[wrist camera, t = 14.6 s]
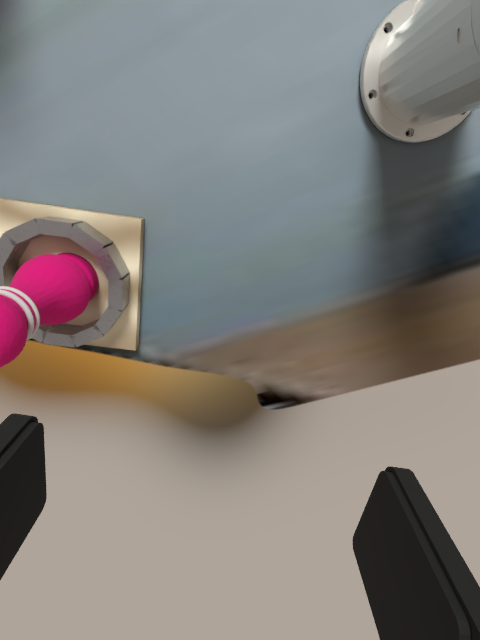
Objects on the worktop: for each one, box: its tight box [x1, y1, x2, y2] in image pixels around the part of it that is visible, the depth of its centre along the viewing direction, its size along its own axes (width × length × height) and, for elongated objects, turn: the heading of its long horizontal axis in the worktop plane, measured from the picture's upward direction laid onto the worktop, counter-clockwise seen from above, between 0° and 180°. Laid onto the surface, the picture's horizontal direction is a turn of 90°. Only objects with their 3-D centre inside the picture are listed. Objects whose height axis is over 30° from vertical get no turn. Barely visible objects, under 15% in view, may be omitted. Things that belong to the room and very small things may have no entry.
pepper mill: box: [0, 253, 98, 367], centre depth 32 cm, size 7×7×20 cm
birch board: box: [0, 198, 144, 351], centre depth 42 cm, size 16×16×2 cm
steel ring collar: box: [0, 216, 130, 348], centre depth 40 cm, size 14×14×3 cm
